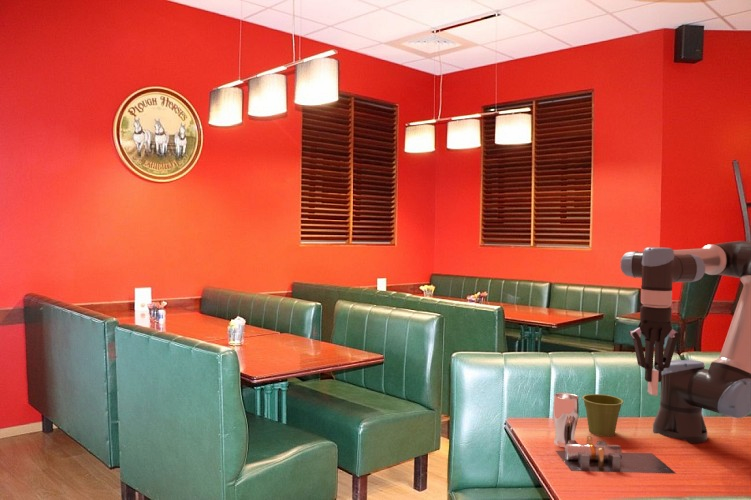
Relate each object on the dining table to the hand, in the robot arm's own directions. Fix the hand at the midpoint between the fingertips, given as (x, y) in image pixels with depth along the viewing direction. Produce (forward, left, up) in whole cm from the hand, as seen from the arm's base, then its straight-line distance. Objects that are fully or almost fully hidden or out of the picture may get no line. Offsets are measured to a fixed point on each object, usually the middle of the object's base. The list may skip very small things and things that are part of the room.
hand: (652, 393), depth 164 cm
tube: (+15, 0, -18) cm, 24 cm away
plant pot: (+4, -24, -20) cm, 31 cm away
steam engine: (+10, 0, -20) cm, 22 cm away
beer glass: (+19, -13, -20) cm, 30 cm away
